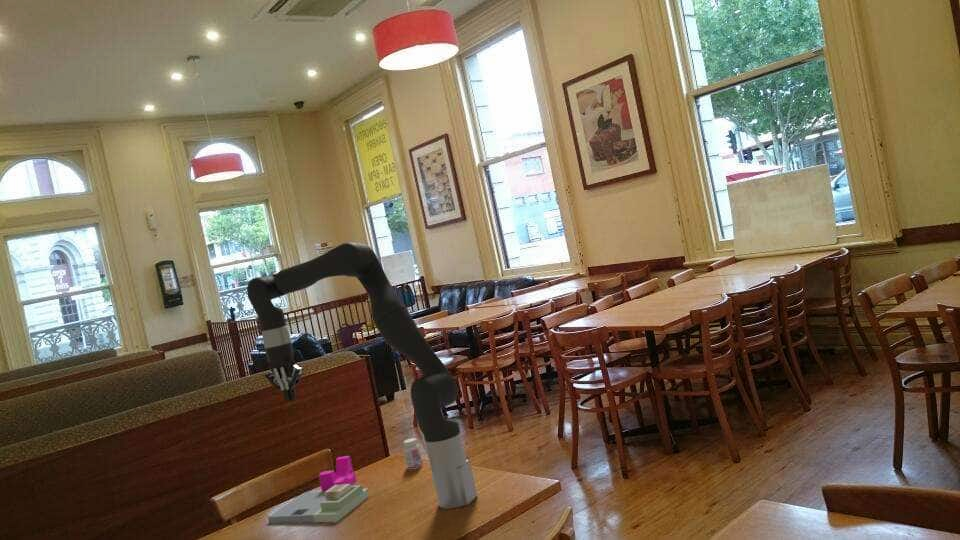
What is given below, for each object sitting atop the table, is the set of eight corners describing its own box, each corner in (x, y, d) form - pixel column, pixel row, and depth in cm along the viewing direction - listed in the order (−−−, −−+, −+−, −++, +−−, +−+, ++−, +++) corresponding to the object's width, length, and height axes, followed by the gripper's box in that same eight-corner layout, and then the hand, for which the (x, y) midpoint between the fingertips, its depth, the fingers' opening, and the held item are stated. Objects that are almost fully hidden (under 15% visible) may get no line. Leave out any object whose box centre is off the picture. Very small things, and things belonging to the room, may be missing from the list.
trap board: (370, 497, 187) (366, 481, 187) (337, 523, 172) (333, 506, 172) (306, 500, 196) (303, 485, 195) (269, 526, 181) (266, 509, 181)
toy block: (344, 497, 192) (338, 471, 192) (324, 500, 193) (318, 475, 193) (362, 478, 207) (357, 454, 207) (343, 480, 208) (338, 457, 208)
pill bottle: (417, 470, 202) (411, 442, 202) (404, 470, 205) (398, 443, 205) (426, 464, 206) (420, 437, 206) (414, 464, 209) (408, 437, 209)
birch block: (353, 496, 183) (350, 483, 183) (342, 504, 178) (339, 491, 178) (337, 497, 185) (335, 484, 185) (327, 505, 180) (324, 492, 180)
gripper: (303, 337, 196) (316, 395, 197) (268, 344, 201) (281, 400, 202) (287, 343, 189) (300, 403, 190) (251, 349, 194) (264, 408, 195)
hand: (290, 401), depth 196 cm, fingers closed
